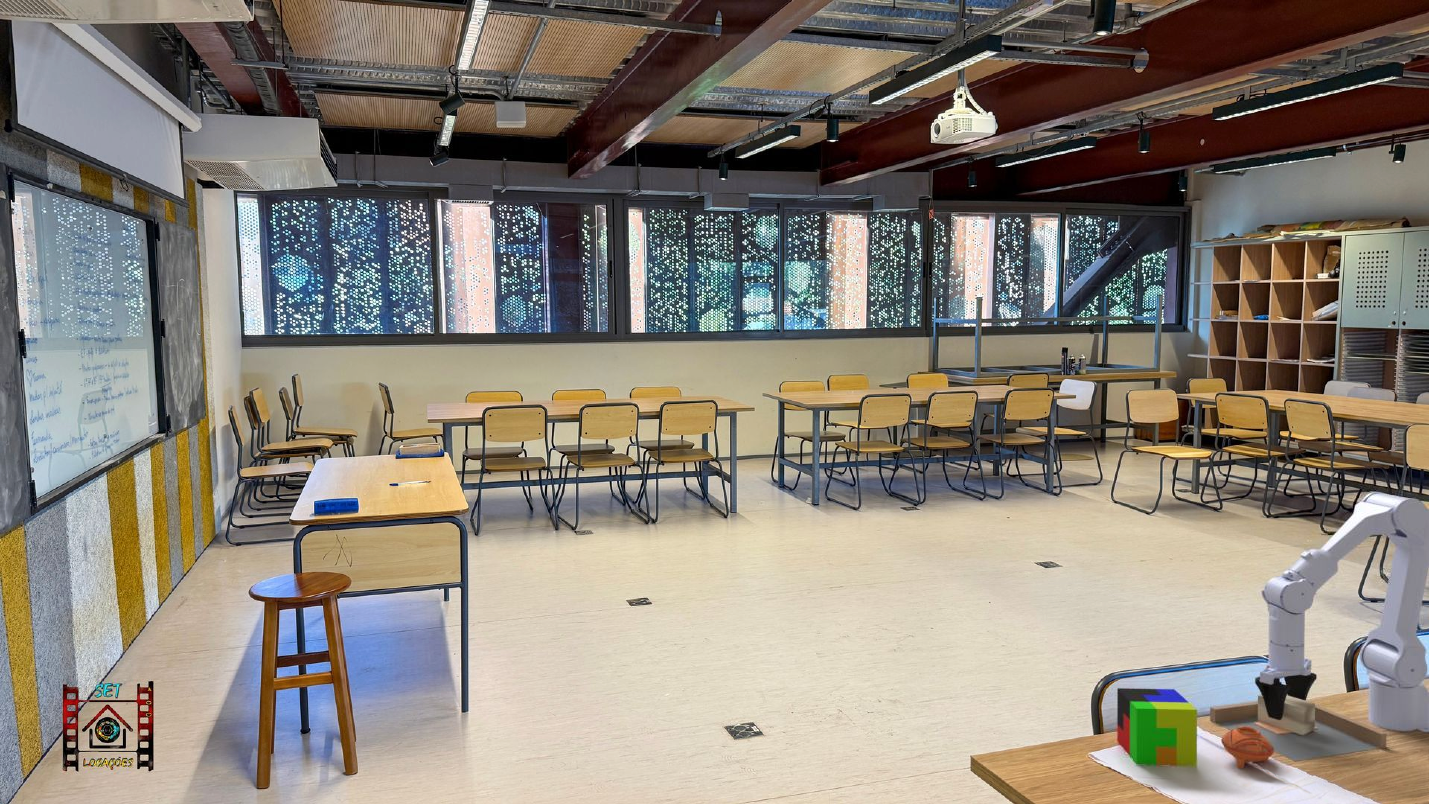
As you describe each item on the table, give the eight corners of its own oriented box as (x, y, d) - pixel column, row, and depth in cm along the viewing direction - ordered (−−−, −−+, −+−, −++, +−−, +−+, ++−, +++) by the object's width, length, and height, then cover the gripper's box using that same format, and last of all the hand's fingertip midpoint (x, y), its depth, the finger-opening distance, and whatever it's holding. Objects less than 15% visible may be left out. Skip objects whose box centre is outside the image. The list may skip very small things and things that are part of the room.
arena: (1294, 712, 183) (1294, 696, 183) (1386, 751, 164) (1386, 733, 164) (1210, 724, 178) (1210, 707, 178) (1294, 765, 159) (1295, 746, 159)
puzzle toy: (1173, 743, 170) (1174, 689, 169) (1196, 766, 160) (1197, 709, 159) (1117, 741, 171) (1117, 688, 170) (1136, 765, 161) (1136, 708, 160)
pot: (1207, 756, 163) (1214, 717, 164) (1243, 761, 165) (1249, 723, 165) (1244, 773, 155) (1251, 733, 156) (1281, 779, 157) (1288, 739, 158)
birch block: (1269, 716, 179) (1270, 690, 178) (1314, 729, 172) (1315, 703, 172) (1257, 721, 176) (1257, 695, 176) (1302, 735, 170) (1303, 708, 169)
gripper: (1288, 655, 166) (1287, 729, 167) (1329, 641, 174) (1328, 712, 175) (1248, 645, 172) (1248, 716, 173) (1289, 632, 180) (1288, 700, 181)
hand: (1285, 713), depth 174 cm, fingers open, 7 cm apart
